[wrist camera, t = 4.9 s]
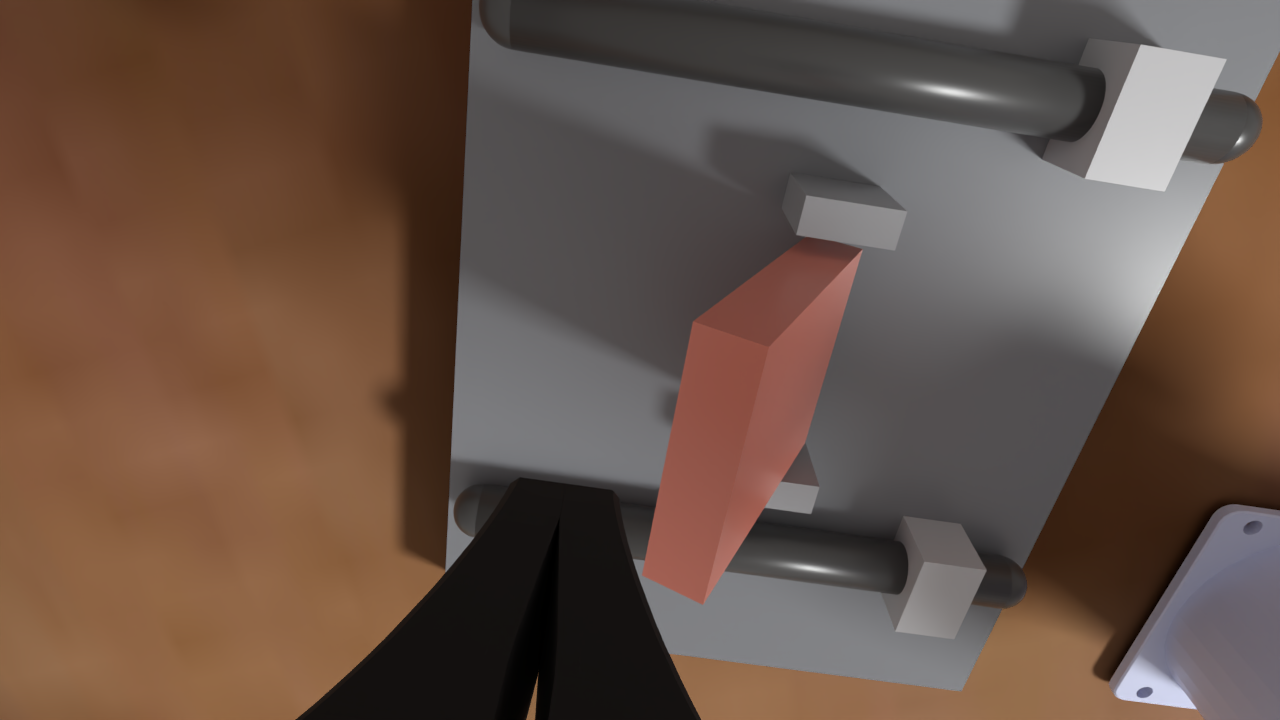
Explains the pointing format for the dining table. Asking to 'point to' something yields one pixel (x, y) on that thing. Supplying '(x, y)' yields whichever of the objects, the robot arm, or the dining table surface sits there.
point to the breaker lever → (745, 409)
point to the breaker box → (882, 287)
